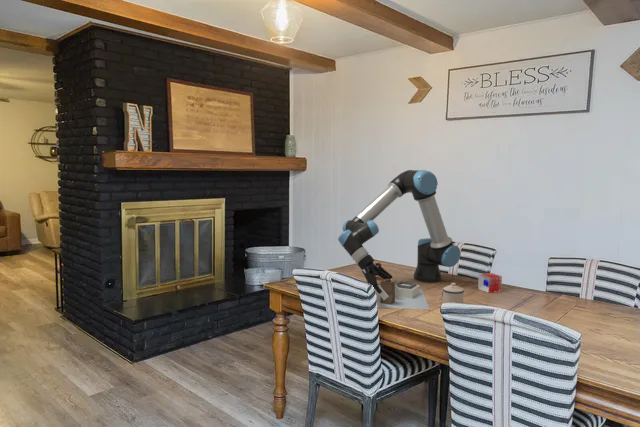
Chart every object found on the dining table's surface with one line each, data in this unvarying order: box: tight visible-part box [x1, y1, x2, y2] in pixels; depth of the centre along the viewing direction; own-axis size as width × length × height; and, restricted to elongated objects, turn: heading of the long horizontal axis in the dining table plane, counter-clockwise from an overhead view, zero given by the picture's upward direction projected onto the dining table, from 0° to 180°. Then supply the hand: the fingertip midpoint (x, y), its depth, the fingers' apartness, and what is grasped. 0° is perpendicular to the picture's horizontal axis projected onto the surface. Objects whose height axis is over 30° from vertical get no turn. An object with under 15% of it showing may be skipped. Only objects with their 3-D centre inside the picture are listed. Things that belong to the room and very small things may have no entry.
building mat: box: [375, 289, 430, 312], centre depth 222 cm, size 24×32×1 cm
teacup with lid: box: [441, 282, 465, 304], centre depth 210 cm, size 12×9×12 cm
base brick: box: [395, 280, 421, 299], centre depth 229 cm, size 11×11×5 cm
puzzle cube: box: [477, 272, 503, 293], centre depth 240 cm, size 8×8×8 cm
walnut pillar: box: [380, 278, 396, 305], centre depth 215 cm, size 5×5×11 cm
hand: (392, 294), depth 214 cm, fingers open, 13 cm apart
